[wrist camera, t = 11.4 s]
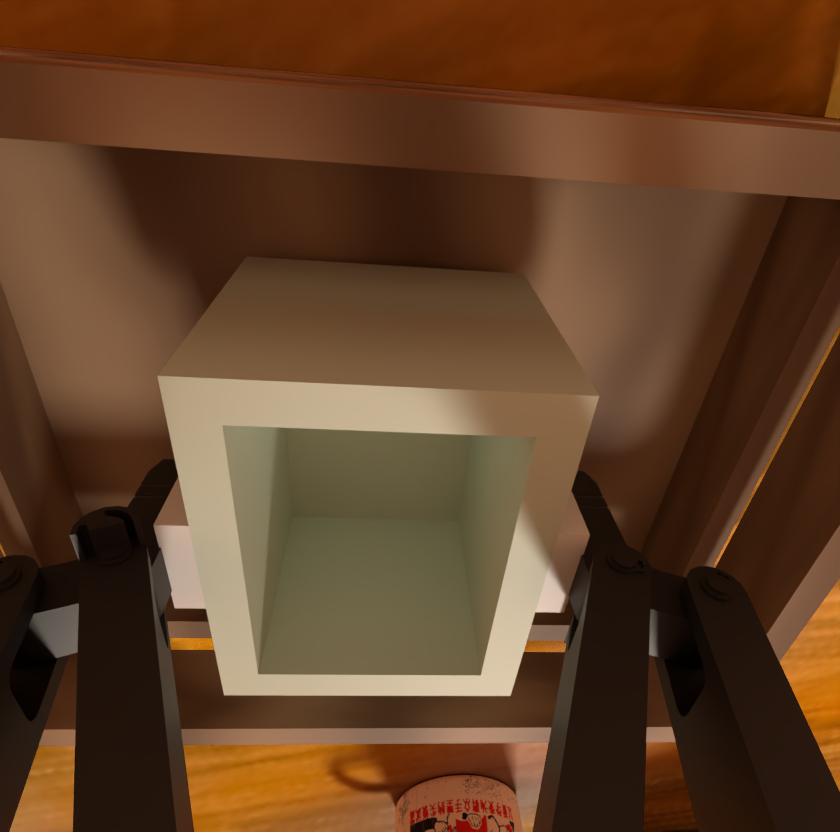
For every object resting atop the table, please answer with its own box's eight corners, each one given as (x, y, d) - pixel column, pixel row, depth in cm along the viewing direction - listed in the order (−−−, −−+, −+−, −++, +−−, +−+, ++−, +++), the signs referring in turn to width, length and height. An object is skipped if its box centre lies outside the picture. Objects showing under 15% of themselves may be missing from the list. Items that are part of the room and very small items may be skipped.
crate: (93, 557, 24) (-22, 746, 18) (-92, 38, 14) (-538, 16, 7) (637, 567, 26) (722, 741, 19) (825, 117, 16) (1142, 157, 9)
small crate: (271, 517, 21) (223, 695, 15) (246, 256, 15) (157, 375, 10) (478, 522, 21) (510, 695, 16) (523, 273, 16) (599, 396, 10)
